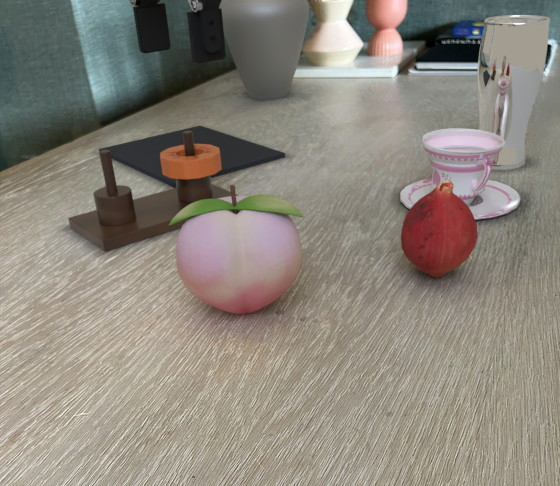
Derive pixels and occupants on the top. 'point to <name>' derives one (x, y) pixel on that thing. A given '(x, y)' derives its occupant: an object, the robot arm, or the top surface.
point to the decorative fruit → (238, 250)
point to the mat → (232, 149)
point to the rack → (139, 207)
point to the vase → (265, 43)
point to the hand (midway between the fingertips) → (181, 55)
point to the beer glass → (510, 80)
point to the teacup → (464, 171)
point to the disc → (190, 162)
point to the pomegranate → (439, 231)
